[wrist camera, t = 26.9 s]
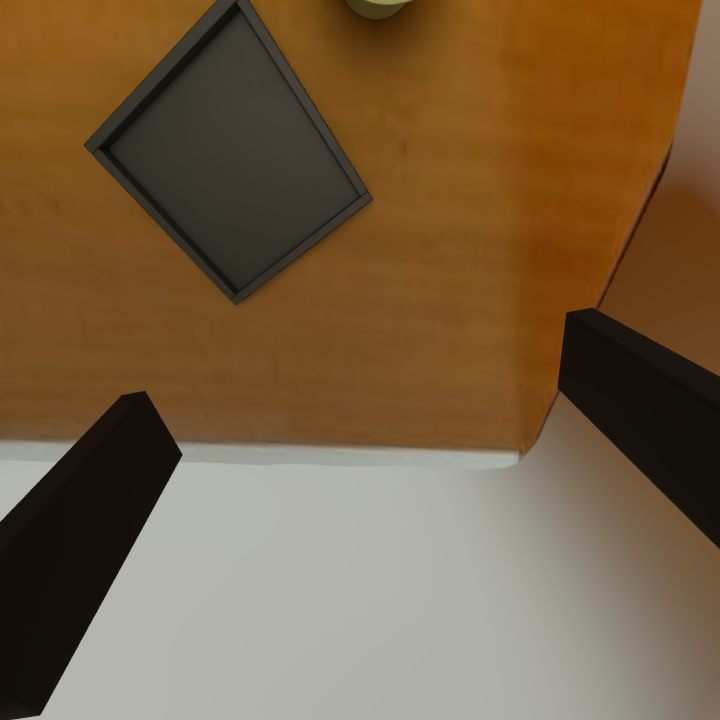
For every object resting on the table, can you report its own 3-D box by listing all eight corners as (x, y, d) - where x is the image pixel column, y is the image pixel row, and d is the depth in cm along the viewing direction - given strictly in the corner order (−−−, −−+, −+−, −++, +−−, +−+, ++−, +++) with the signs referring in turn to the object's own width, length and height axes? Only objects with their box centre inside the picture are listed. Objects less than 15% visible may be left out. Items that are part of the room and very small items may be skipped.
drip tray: (95, 146, 29) (82, 145, 27) (241, -10, 25) (235, -21, 23) (239, 300, 36) (235, 305, 34) (371, 197, 32) (373, 199, 30)
